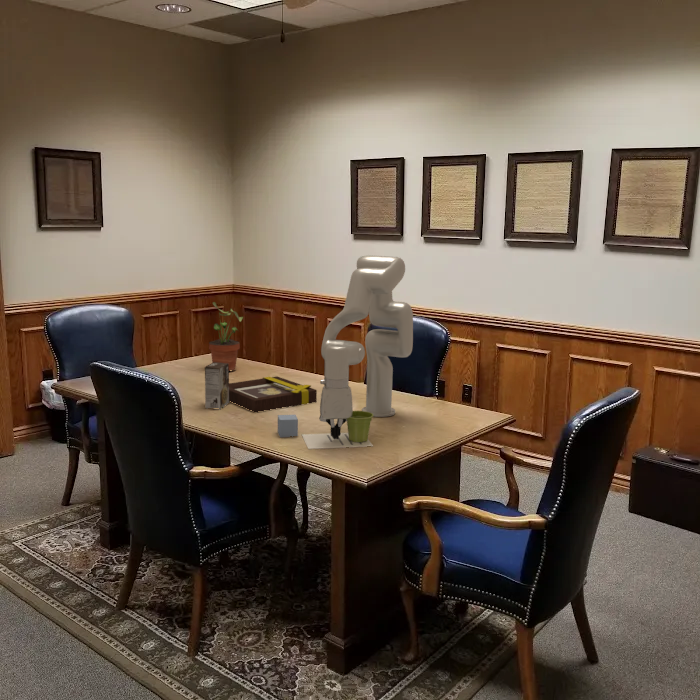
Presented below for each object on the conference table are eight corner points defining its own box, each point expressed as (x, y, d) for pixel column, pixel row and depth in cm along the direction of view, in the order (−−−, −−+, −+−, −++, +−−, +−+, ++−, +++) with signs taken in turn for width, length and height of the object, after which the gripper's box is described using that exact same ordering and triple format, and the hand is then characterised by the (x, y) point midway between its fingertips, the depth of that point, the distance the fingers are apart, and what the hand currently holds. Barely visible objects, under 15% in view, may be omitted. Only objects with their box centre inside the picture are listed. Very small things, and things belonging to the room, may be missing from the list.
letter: (301, 435, 240) (301, 434, 240) (362, 432, 244) (362, 431, 244) (308, 449, 226) (308, 448, 226) (373, 446, 230) (373, 445, 230)
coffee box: (214, 402, 278) (213, 361, 276) (229, 403, 277) (229, 362, 274) (204, 408, 270) (204, 366, 267) (220, 409, 268) (220, 367, 265)
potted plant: (226, 375, 325) (226, 298, 318) (202, 371, 333) (201, 295, 326) (249, 370, 338) (249, 295, 331) (225, 365, 346) (225, 293, 339)
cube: (277, 432, 243) (277, 415, 242) (295, 431, 244) (295, 414, 243) (279, 437, 237) (279, 420, 236) (297, 436, 238) (297, 419, 237)
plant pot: (344, 435, 240) (345, 410, 239) (372, 436, 240) (373, 410, 238) (343, 443, 231) (343, 417, 229) (372, 444, 231) (373, 418, 229)
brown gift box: (277, 373, 304) (318, 387, 281) (277, 388, 305) (318, 403, 282) (217, 382, 286) (256, 397, 263) (217, 398, 288) (256, 415, 265)
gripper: (315, 386, 225) (314, 442, 229) (361, 385, 228) (360, 440, 232) (311, 381, 232) (311, 435, 236) (356, 379, 236) (355, 433, 239)
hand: (335, 437), depth 234 cm, fingers closed
